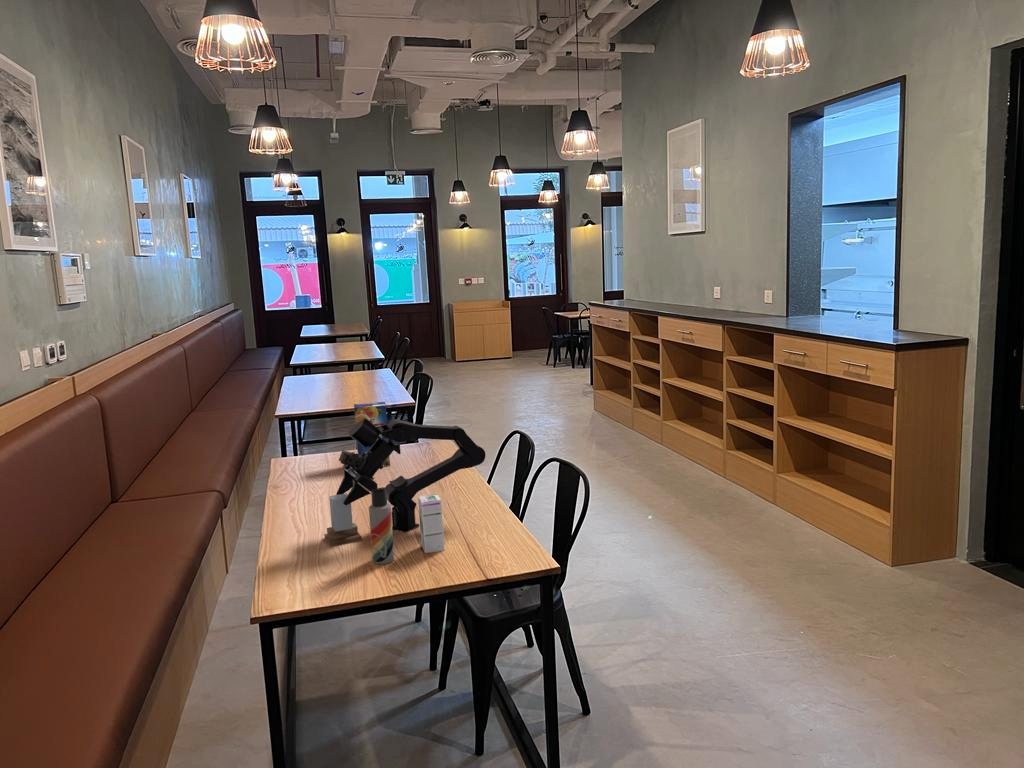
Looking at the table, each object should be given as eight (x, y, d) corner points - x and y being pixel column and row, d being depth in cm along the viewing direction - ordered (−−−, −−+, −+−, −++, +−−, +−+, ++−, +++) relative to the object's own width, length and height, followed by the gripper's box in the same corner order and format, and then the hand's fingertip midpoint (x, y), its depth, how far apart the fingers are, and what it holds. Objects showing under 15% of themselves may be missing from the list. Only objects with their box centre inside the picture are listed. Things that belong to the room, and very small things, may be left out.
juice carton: (358, 468, 287) (354, 407, 283) (358, 463, 294) (353, 404, 290) (390, 465, 290) (386, 405, 286) (388, 460, 297) (384, 401, 293)
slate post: (348, 523, 217) (346, 493, 215) (352, 528, 212) (350, 498, 211) (331, 526, 215) (329, 496, 213) (335, 531, 210) (332, 500, 209)
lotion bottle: (375, 566, 194) (370, 492, 191) (370, 558, 199) (365, 486, 196) (396, 562, 196) (391, 489, 193) (391, 554, 202) (386, 483, 198)
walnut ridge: (355, 532, 219) (354, 520, 219) (361, 540, 213) (360, 528, 212) (324, 538, 215) (323, 526, 215) (329, 546, 209) (328, 534, 209)
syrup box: (445, 550, 203) (442, 499, 201) (423, 553, 201) (420, 502, 199) (441, 543, 208) (438, 493, 206) (420, 546, 207) (417, 496, 204)
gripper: (347, 433, 220) (312, 475, 217) (363, 447, 203) (325, 492, 201) (375, 455, 225) (341, 497, 222) (393, 470, 208) (356, 515, 205)
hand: (340, 499), depth 212 cm, fingers open, 9 cm apart
